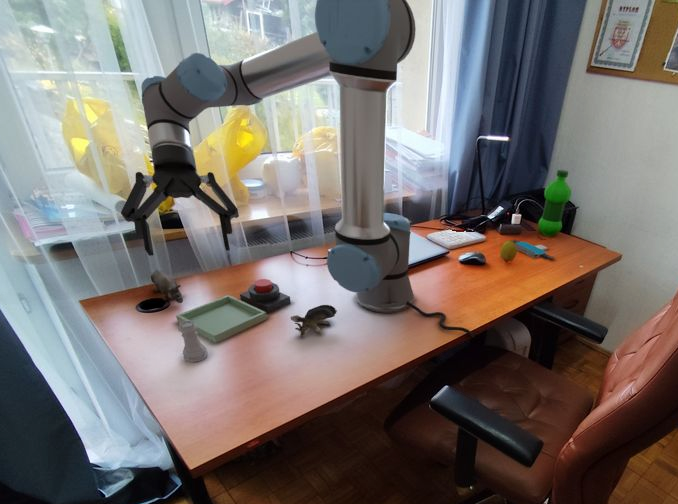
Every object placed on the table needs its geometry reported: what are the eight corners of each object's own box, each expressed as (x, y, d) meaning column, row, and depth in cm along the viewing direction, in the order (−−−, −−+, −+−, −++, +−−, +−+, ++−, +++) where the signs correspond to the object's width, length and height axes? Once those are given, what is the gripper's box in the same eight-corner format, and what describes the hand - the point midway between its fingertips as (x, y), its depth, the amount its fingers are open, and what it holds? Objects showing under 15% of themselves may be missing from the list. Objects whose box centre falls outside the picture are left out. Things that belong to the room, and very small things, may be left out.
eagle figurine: (319, 341, 92) (344, 318, 98) (299, 315, 89) (326, 293, 95) (301, 345, 97) (325, 323, 103) (281, 321, 94) (307, 300, 100)
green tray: (267, 319, 100) (266, 312, 99) (216, 343, 90) (214, 336, 89) (230, 301, 104) (228, 294, 103) (177, 322, 95) (175, 315, 94)
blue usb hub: (563, 257, 154) (565, 253, 153) (542, 262, 148) (543, 258, 147) (525, 239, 167) (526, 235, 166) (504, 243, 160) (504, 239, 159)
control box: (290, 303, 107) (289, 289, 104) (268, 313, 102) (266, 299, 99) (263, 291, 110) (261, 277, 108) (240, 301, 105) (238, 286, 103)
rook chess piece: (213, 352, 87) (204, 319, 83) (200, 364, 83) (190, 331, 79) (192, 349, 87) (182, 316, 83) (179, 361, 84) (167, 327, 79)
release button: (276, 289, 105) (274, 282, 104) (262, 294, 102) (261, 287, 101) (265, 284, 106) (263, 277, 105) (251, 289, 103) (250, 282, 102)
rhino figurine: (174, 311, 98) (166, 288, 95) (151, 290, 105) (144, 268, 102) (192, 306, 101) (186, 284, 97) (169, 286, 108) (163, 264, 104)
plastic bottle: (564, 238, 173) (581, 174, 159) (542, 238, 170) (557, 173, 156) (553, 229, 181) (568, 168, 167) (531, 229, 178) (545, 167, 164)
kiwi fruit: (516, 262, 145) (521, 240, 141) (510, 267, 141) (514, 244, 137) (502, 258, 147) (506, 236, 143) (495, 262, 143) (499, 240, 139)
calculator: (425, 238, 156) (425, 233, 155) (462, 230, 168) (463, 225, 167) (449, 250, 148) (450, 245, 147) (486, 240, 161) (487, 236, 159)
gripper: (241, 165, 94) (257, 253, 92) (106, 164, 84) (120, 262, 82) (237, 144, 87) (255, 238, 85) (90, 140, 77) (106, 246, 75)
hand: (189, 250), depth 83 cm, fingers open, 13 cm apart
